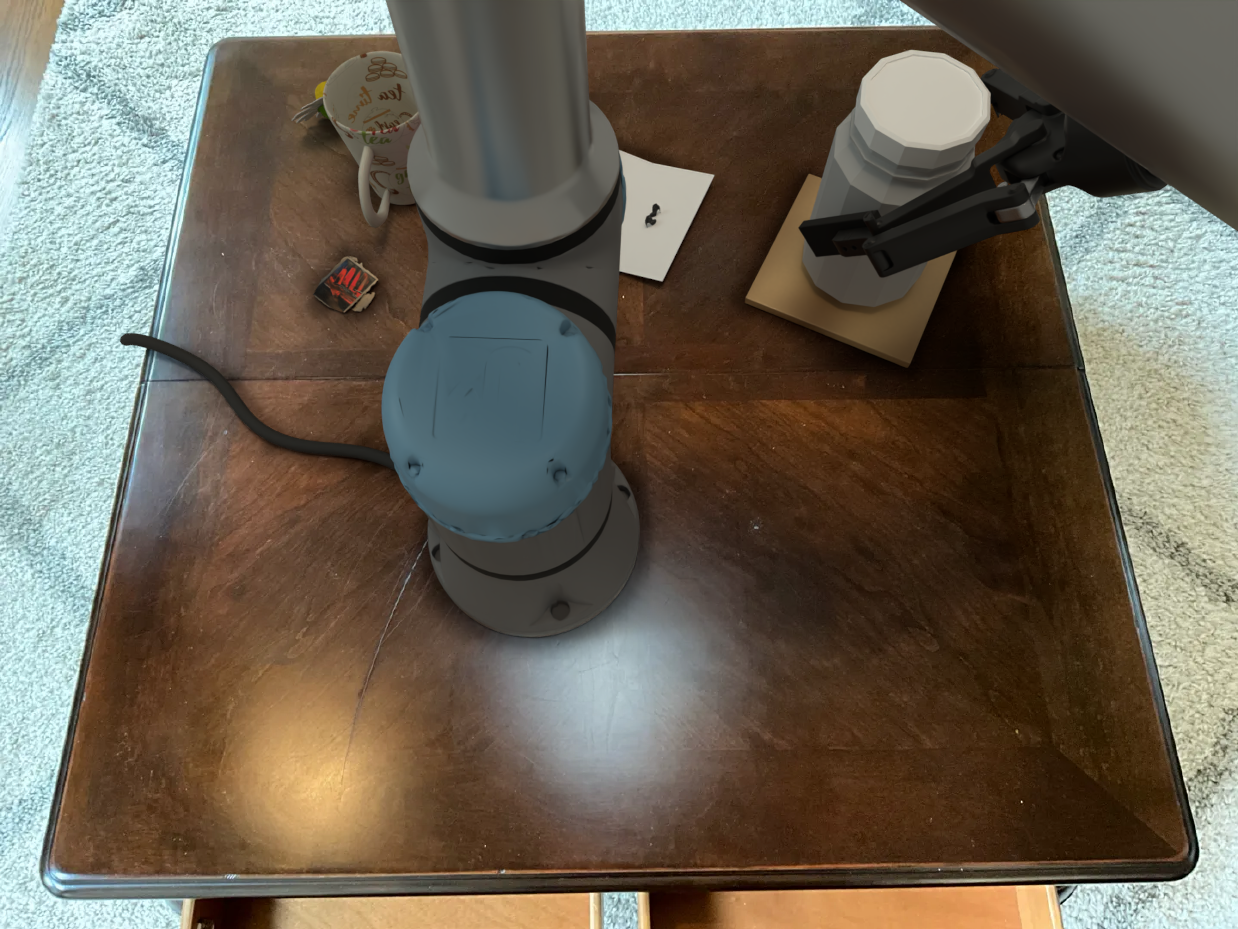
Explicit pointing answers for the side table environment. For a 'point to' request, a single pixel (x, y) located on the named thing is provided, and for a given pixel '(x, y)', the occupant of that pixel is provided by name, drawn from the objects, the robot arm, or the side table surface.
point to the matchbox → (346, 286)
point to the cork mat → (802, 302)
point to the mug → (375, 125)
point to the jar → (896, 158)
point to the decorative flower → (313, 106)
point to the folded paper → (657, 214)
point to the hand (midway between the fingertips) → (857, 176)
